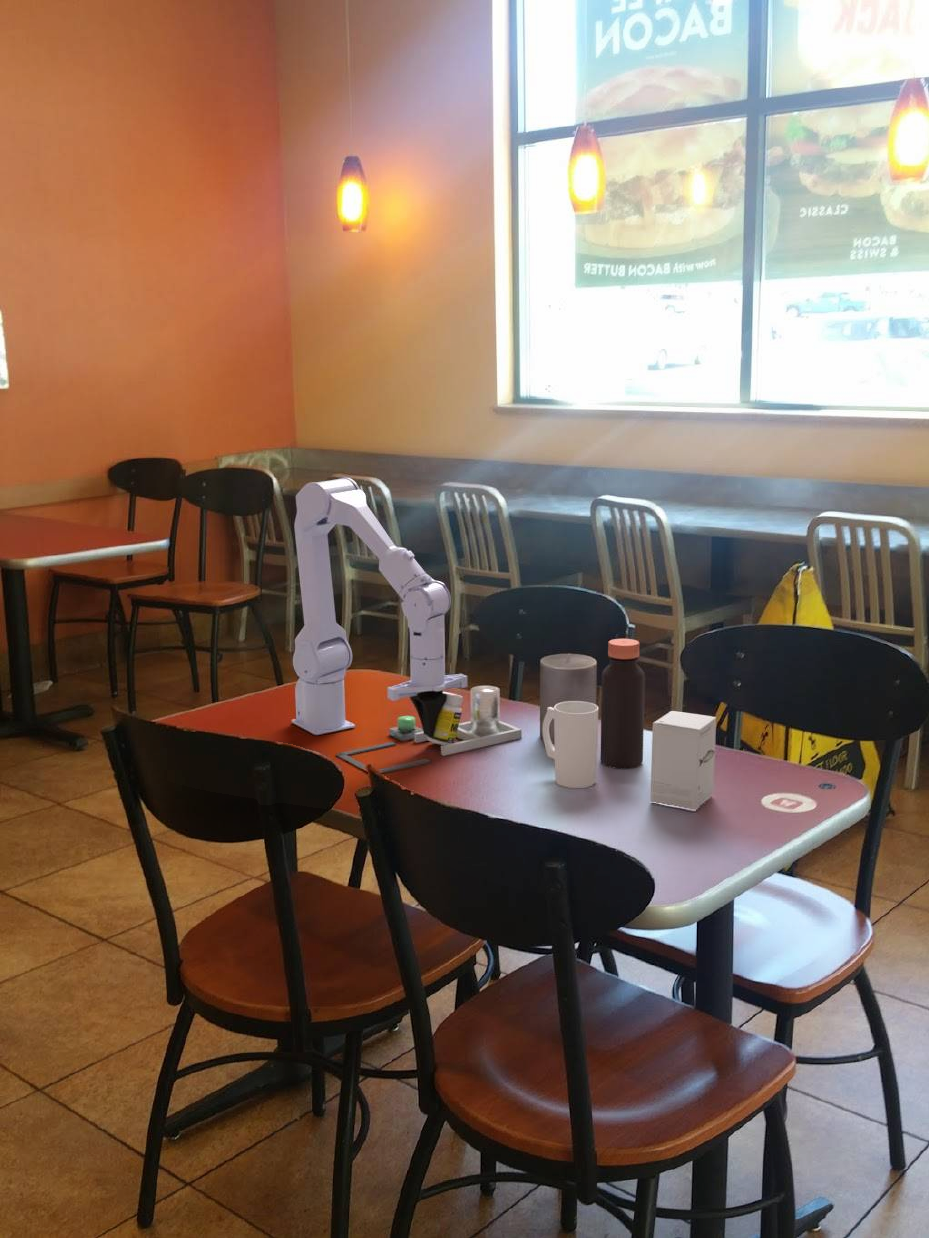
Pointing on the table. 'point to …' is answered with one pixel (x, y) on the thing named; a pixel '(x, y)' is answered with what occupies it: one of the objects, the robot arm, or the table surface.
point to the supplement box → (683, 759)
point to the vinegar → (622, 706)
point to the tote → (346, 754)
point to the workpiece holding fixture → (474, 738)
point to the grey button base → (403, 733)
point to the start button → (406, 723)
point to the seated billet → (485, 710)
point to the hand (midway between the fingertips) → (428, 734)
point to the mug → (573, 742)
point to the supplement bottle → (448, 720)
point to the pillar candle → (565, 683)
